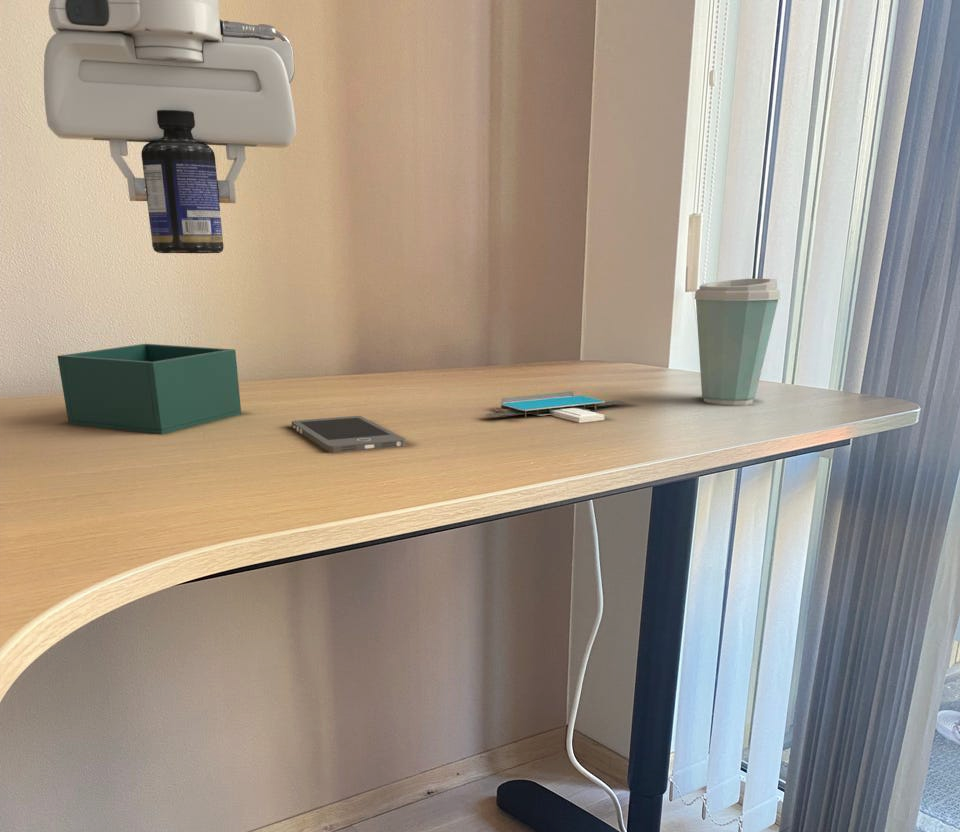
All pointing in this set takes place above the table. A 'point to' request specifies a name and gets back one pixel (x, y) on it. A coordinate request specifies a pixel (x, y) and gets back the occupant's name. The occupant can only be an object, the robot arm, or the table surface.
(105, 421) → the open box
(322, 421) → the smartphone
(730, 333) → the disposable coffee cup
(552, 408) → the teal tabletop platform
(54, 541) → the table surface
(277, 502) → the table surface
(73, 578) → the table surface
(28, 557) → the table surface
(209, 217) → the pill bottle
